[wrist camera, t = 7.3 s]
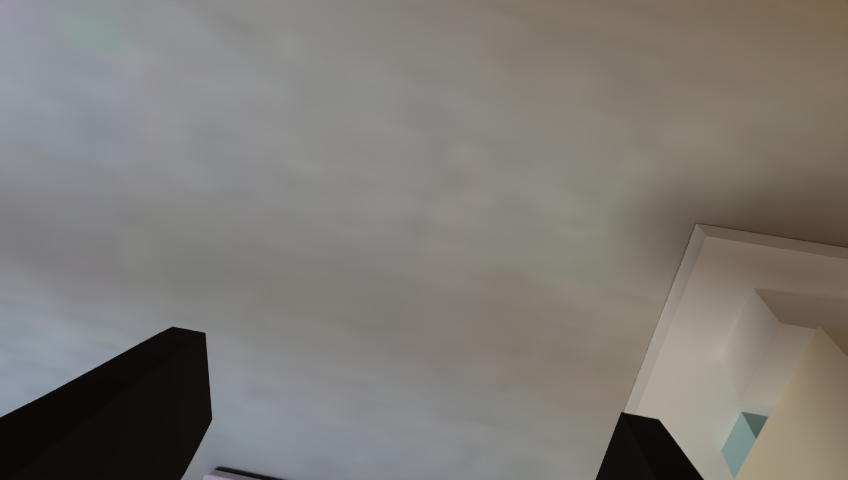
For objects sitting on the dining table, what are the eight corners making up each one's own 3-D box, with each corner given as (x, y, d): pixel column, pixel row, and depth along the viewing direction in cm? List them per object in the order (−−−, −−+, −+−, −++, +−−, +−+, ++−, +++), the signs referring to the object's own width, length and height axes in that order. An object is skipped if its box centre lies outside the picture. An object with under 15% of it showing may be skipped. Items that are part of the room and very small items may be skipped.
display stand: (810, 566, 24) (848, 641, 21) (582, 519, 25) (591, 586, 22) (1018, 276, 17) (1112, 331, 14) (696, 223, 18) (729, 266, 15)
